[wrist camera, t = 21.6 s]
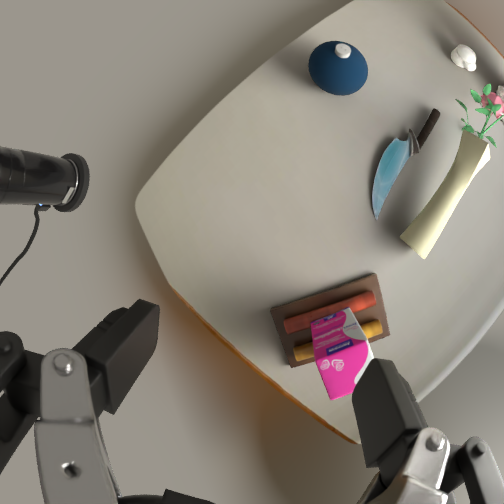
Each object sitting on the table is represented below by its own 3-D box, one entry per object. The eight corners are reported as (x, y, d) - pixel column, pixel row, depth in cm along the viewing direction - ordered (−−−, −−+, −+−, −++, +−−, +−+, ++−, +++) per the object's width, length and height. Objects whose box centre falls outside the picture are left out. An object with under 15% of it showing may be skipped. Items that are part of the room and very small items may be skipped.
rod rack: (291, 365, 40) (290, 375, 37) (270, 308, 40) (268, 315, 36) (388, 332, 37) (394, 340, 34) (374, 272, 37) (381, 277, 34)
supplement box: (348, 304, 35) (370, 339, 23) (360, 340, 35) (382, 383, 24) (308, 320, 36) (314, 361, 24) (322, 355, 36) (331, 404, 25)
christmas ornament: (370, 80, 33) (387, 47, 24) (343, 114, 35) (356, 84, 25) (326, 52, 34) (331, 14, 24) (296, 83, 35) (296, 47, 25)
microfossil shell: (453, 50, 29) (464, 37, 24) (472, 69, 29) (485, 58, 24) (445, 58, 30) (457, 45, 25) (465, 79, 30) (479, 68, 24)
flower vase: (382, 220, 43) (468, 76, 29) (434, 266, 39) (518, 116, 25) (378, 220, 33) (479, 43, 19) (445, 280, 29) (540, 92, 15)
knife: (351, 201, 36) (377, 222, 37) (354, 202, 35) (381, 223, 35) (415, 95, 32) (437, 115, 32) (419, 92, 30) (442, 113, 30)
